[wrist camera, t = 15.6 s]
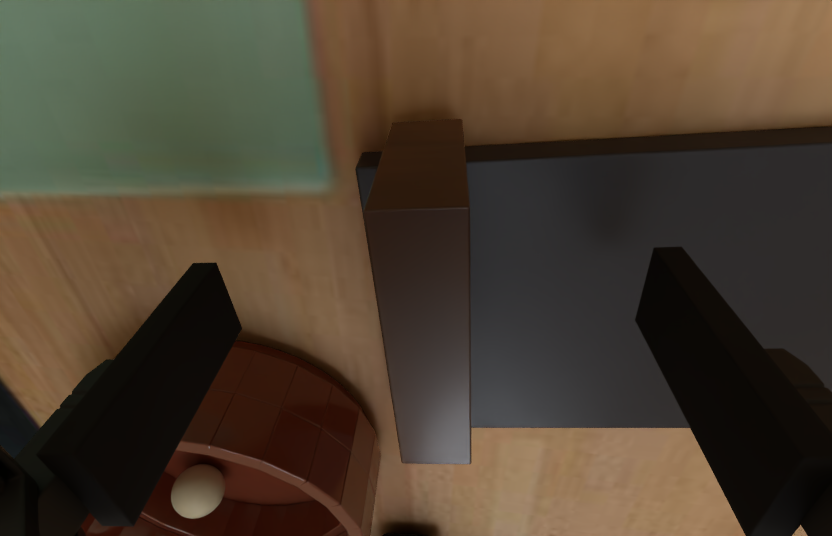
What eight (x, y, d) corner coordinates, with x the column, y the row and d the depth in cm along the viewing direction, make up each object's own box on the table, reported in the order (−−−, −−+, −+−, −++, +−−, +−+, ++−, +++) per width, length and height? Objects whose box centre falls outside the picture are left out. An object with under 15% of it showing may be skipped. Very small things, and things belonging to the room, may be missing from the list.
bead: (170, 492, 27) (160, 529, 24) (182, 451, 26) (174, 484, 24) (219, 495, 28) (215, 531, 25) (232, 456, 28) (229, 488, 25)
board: (399, 404, 24) (396, 428, 23) (361, 151, 16) (354, 167, 15) (1169, 401, 21) (1214, 429, 20) (1584, 83, 13) (1700, 97, 12)
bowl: (106, 458, 29) (36, 561, 24) (120, 285, 21) (17, 389, 16) (333, 521, 32) (313, 624, 27) (425, 392, 24) (420, 507, 19)
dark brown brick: (413, 334, 19) (401, 463, 14) (391, 122, 14) (362, 210, 9) (465, 333, 19) (471, 465, 14) (462, 118, 14) (470, 206, 9)
